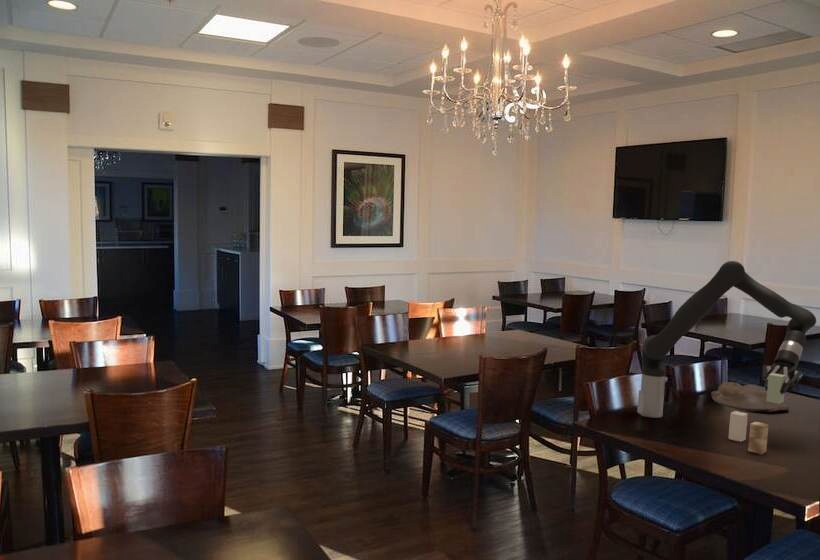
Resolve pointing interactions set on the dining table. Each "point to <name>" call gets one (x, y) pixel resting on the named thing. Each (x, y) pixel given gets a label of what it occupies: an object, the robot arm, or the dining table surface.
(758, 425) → the oak block
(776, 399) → the sage block
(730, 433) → the cream block
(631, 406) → the dining table surface
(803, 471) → the dining table surface
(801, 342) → the robot arm
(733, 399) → the flat cap
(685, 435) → the dining table surface
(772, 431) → the dining table surface
